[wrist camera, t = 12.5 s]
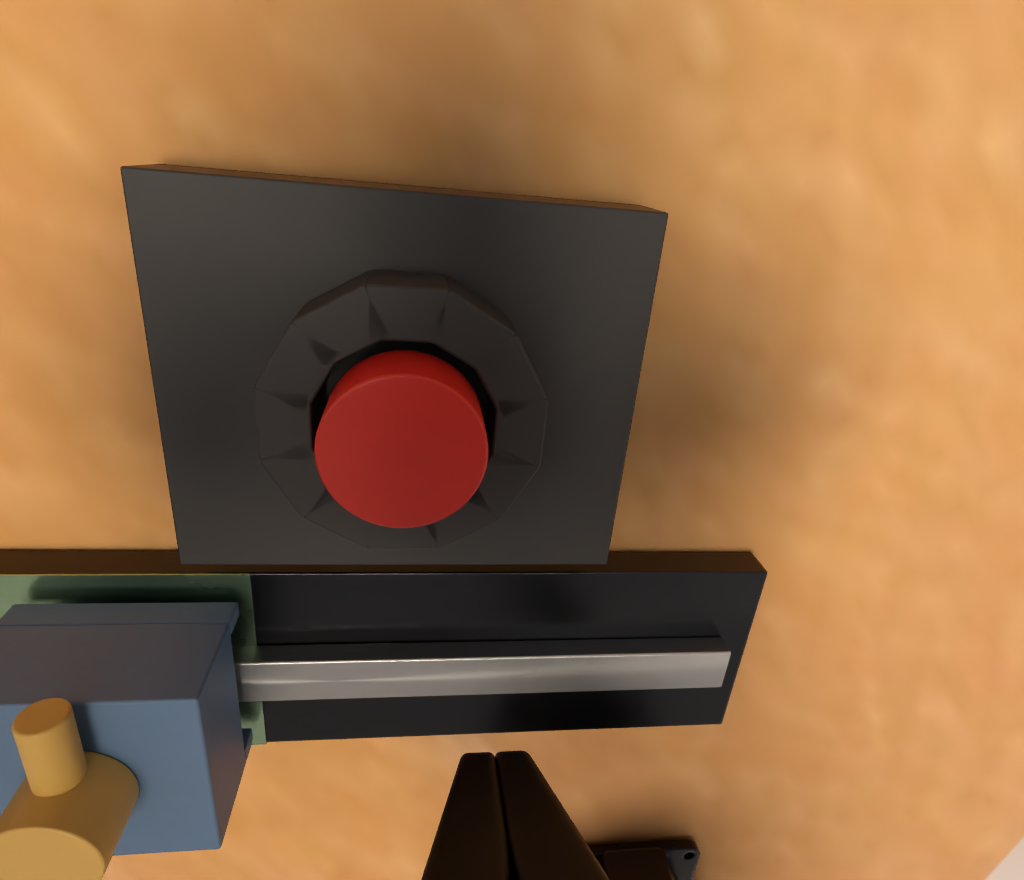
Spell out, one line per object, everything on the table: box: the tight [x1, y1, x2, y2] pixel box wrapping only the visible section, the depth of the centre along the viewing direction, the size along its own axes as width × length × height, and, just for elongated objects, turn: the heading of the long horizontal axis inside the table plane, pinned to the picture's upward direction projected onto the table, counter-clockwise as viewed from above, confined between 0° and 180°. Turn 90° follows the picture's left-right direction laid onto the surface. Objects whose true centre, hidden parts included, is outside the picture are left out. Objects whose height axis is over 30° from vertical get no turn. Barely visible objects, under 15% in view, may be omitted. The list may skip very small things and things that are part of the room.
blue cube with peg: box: [0, 602, 253, 880], centre depth 17 cm, size 6×6×6 cm
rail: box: [0, 550, 767, 745], centre depth 19 cm, size 7×28×5 cm, turn 85°
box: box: [121, 164, 668, 565], centre depth 16 cm, size 10×12×4 cm
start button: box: [314, 350, 488, 528], centre depth 14 cm, size 4×4×2 cm
